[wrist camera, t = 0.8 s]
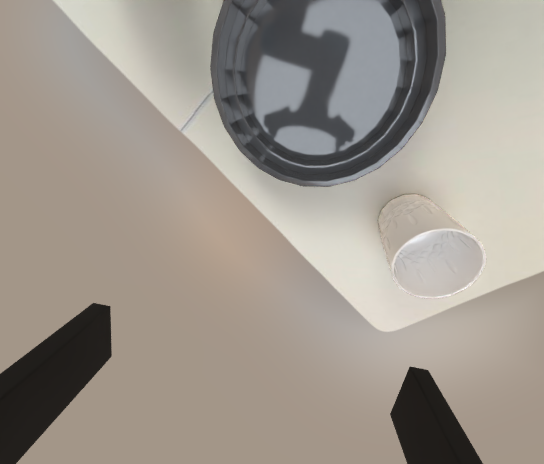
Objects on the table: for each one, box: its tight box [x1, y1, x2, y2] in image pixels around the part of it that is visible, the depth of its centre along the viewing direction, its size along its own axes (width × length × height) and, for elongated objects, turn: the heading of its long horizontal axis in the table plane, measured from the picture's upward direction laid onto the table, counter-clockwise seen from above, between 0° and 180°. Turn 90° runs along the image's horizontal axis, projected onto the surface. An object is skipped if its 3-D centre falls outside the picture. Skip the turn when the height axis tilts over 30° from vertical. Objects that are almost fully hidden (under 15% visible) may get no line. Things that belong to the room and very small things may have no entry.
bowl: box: [210, 0, 446, 187], centre depth 25 cm, size 19×19×6 cm
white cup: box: [378, 194, 486, 299], centre depth 29 cm, size 8×8×10 cm
